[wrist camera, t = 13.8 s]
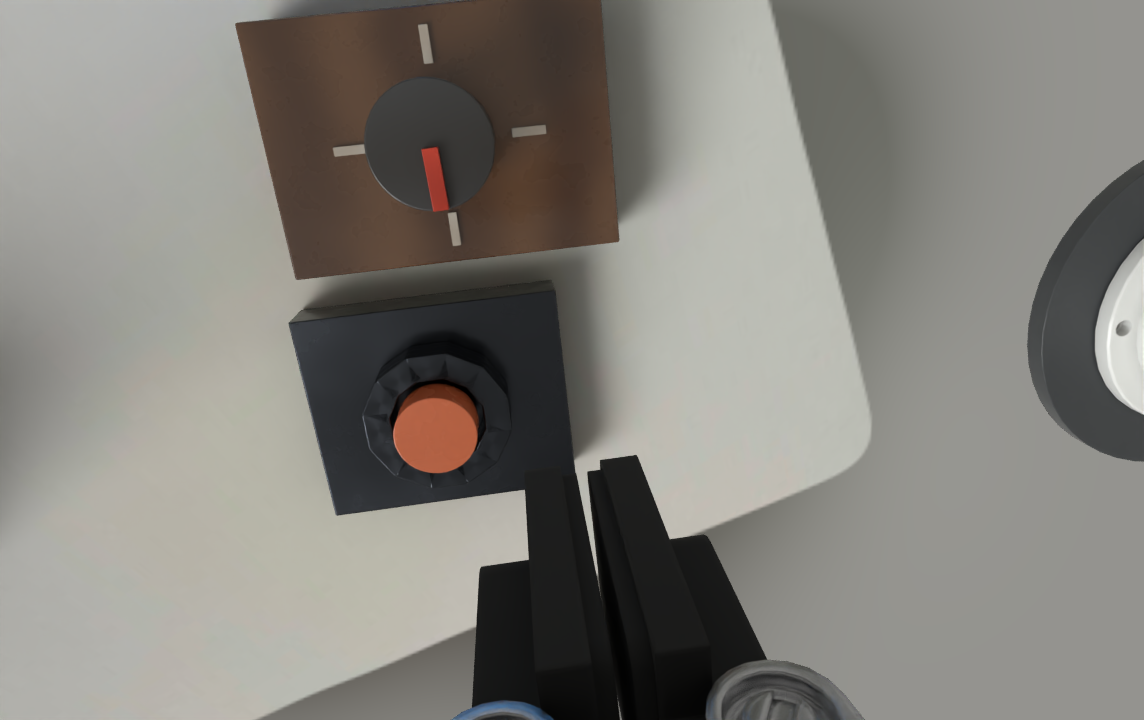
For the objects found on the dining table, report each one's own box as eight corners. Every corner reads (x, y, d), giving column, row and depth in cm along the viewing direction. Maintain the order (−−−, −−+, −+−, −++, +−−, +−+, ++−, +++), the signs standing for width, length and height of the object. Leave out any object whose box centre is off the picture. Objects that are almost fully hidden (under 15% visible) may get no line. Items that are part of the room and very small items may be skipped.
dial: (374, 90, 28) (348, 86, 23) (485, 75, 28) (482, 67, 23) (398, 202, 29) (378, 221, 24) (503, 187, 30) (504, 203, 25)
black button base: (551, 279, 34) (558, 300, 30) (572, 462, 38) (580, 501, 34) (301, 309, 34) (275, 334, 30) (344, 493, 37) (327, 536, 33)
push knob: (472, 378, 32) (471, 392, 30) (483, 449, 33) (482, 467, 31) (391, 388, 31) (385, 403, 30) (406, 460, 33) (401, 478, 31)
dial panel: (590, -2, 30) (600, -14, 27) (609, 231, 34) (620, 242, 31) (258, 31, 29) (232, 21, 27) (312, 266, 33) (294, 281, 30)
